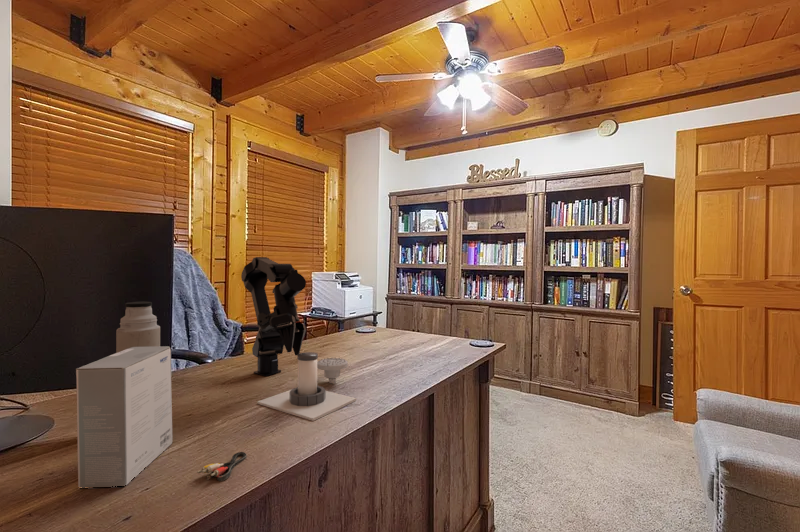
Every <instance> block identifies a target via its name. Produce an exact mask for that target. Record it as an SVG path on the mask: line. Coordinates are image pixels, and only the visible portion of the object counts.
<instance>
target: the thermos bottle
mask: <svg viewBox="0 0 800 532" xmlns="http://www.w3.org/2000/svg"><path fill="white" fill-rule="evenodd" d="M152 306H153V302H152V301H132V302H126V303H125V304H124V307H125V314H124V316H123V317H121V318H120V323H119V325H120V327H118V328H117V329H116V335H115V338H116V341H115V342H116V343H115V344H116V347H115V348H116V351H115V353H118V352H121V351H123V350H126V349H129V348H131V347H154V346H161V326H160V325H159V324H158V323H157V321H158V319H157V318H158V317H157V315H154V314H153V308H152Z"/></svg>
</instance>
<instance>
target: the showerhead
mask: <svg viewBox="0 0 800 532" xmlns="http://www.w3.org/2000/svg"><path fill="white" fill-rule="evenodd" d="M348 365H349V363H348V360H346V359H345V358H340V357H327V358H323V359H319V360H317V370H320V371H324V372H323V373H324V377H325V378H327V379H328V383H329V384H336V382H337V381H336V380H337V378H339V377H340V376H341V370H344V369H347V368H348Z"/></svg>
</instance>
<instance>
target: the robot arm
mask: <svg viewBox="0 0 800 532" xmlns="http://www.w3.org/2000/svg"><path fill="white" fill-rule="evenodd" d="M306 280H307V279H305V277H304V276H303V275H302V274H301V273H299V272H298V269H295V268H294V267H293V265H292V264H291V263H279V262H276V261H274V260H272V259H270V258H269V257H267V256H266V257H265V256H255V257H253V258H252V260H251V261H250V262H249V263H247V264H246V265H244V267H243V268H242V272H241V281H242V283H243V285H244V288H245V289H246V290H247V291H248V292H250V294H251V298H252V299H251V300H252V304H253V308H254V311H255V317H256V321H257V326H258V331H257V333H256V336H255V341H254V343H253V345H252V348H251V350H252V355H253V356H254V357H255V358H257V370H255V371H253V374H255V375H260V376H264V377H268V376H271V375H274V374H278V373H281V372H282V369H279V359H278V358H279V357H278V356H279V355H282V354H283V351H284V348H285V349H286V352H287V353H291V352H292V351H293V352H294V356H297V355H298V354H300V353H301V347H302V346H303V341H304V337H305V334H306V332H307V328H306V325H305V324H304V323H302V322H301V321H300V317H298V311H297V310H298V304H297V303H296V299H295V297H296V296H297V295H299V293H300V292H302V291H303V290H304V289H305V287H306V285H307V281H306ZM268 282H270V283H278V284H275V285H274V287H273V288H272V291H271V292H272V294H273V295H274V304H275V305H273V306H274V307H273V312H271V310H270V304H269V301H268V296H267V292H266V285H267V283H268ZM278 354H279V355H278Z"/></svg>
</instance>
